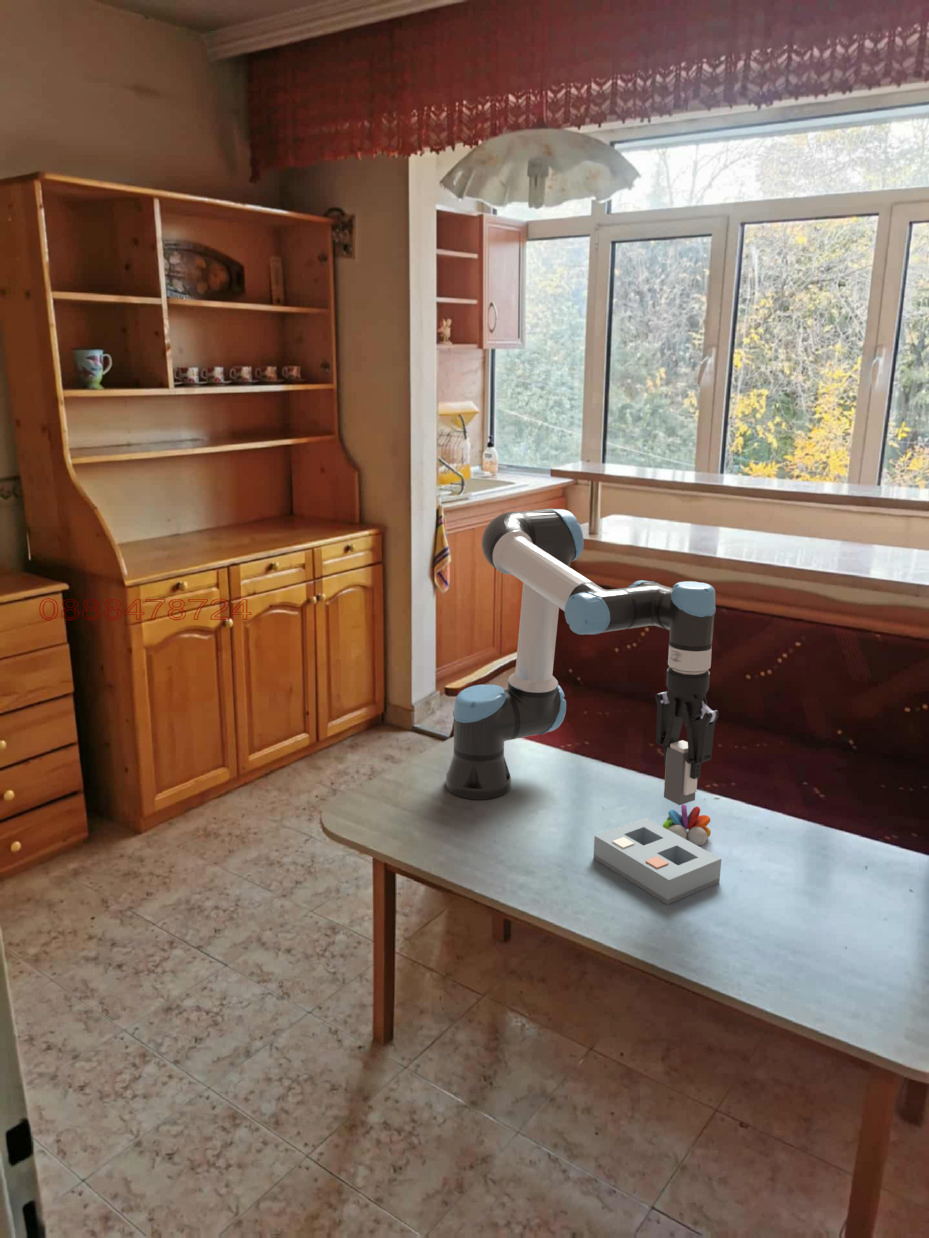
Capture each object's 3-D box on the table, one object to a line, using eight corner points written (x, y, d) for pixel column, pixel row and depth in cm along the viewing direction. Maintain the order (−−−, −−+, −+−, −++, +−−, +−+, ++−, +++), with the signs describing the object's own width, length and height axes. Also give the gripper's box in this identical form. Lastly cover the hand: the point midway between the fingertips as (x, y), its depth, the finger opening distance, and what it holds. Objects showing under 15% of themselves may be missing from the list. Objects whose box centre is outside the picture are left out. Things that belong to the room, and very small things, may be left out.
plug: (663, 797, 175) (667, 743, 172) (678, 792, 177) (682, 739, 174) (679, 805, 171) (683, 750, 169) (694, 800, 173) (698, 745, 171)
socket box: (593, 858, 186) (594, 834, 184) (644, 839, 193) (645, 816, 192) (667, 904, 170) (669, 878, 168) (719, 882, 177) (721, 857, 176)
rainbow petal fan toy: (711, 850, 190) (713, 817, 188) (662, 845, 192) (664, 812, 190) (708, 830, 198) (711, 799, 196) (662, 825, 200) (664, 794, 198)
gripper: (639, 659, 172) (633, 776, 178) (710, 684, 159) (701, 810, 165) (668, 653, 177) (661, 768, 182) (740, 677, 163) (729, 800, 169)
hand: (680, 787), depth 174 cm, fingers closed on plug, 4 cm apart
